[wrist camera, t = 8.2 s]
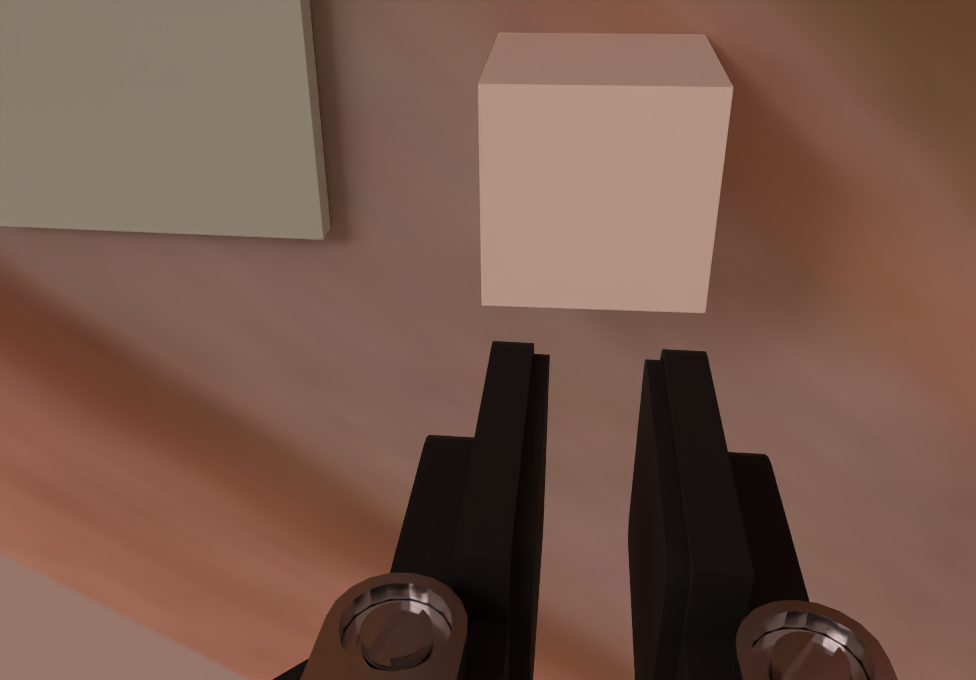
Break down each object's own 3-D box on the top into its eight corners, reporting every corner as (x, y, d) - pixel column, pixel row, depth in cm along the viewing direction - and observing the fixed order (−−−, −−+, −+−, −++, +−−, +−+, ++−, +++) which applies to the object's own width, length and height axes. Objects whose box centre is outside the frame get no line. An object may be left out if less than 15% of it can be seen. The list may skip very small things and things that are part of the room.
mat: (-9, 214, 26) (-25, 225, 25) (-127, -186, 21) (-151, -186, 20) (330, 228, 25) (323, 239, 25) (292, -185, 20) (282, -185, 20)
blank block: (500, 220, 25) (481, 305, 21) (498, 31, 22) (477, 83, 18) (684, 225, 24) (705, 313, 20) (704, 33, 22) (733, 87, 18)
